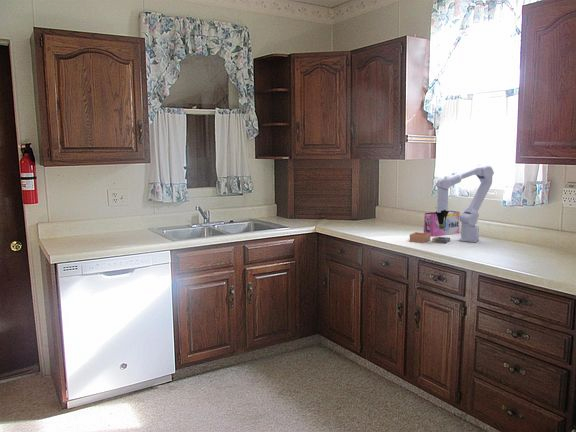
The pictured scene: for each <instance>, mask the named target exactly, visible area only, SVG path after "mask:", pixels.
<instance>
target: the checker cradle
mask: <svg viewBox="0 0 576 432" xmlns="http://www.w3.org/2000/svg"><path fill="white" fill-rule="evenodd" d="M431 242H432V243H439V244H448V243H449V242H451V237H449V236H448V237H446V236H433V237H432V239H431Z"/></svg>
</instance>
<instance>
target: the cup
mask: <svg viewBox="0 0 576 432" xmlns="http://www.w3.org/2000/svg"><path fill="white" fill-rule="evenodd" d="M431 237H432V236H431V234H430V233H424V232H417V231H414V232H412V233H410V234H409V242H412V243H422V244H426V243H429V242H430V241H431Z"/></svg>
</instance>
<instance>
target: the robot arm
mask: <svg viewBox="0 0 576 432" xmlns="http://www.w3.org/2000/svg"><path fill="white" fill-rule="evenodd" d="M494 174H495V171H494V169H493V167H492V166H491V165H481V164H479V165H475V166H473V167H471V168H469V169H467V170H463V172H461V173H457V172H452V173H451V174H450V175H448V176H444V178H439V179H438V180H437V181H436V183H435V185H436V187H437V203H436V207H434V209H436V211H435V212H436V215H437V217H438V222H439V224H443V222H444V217H445V221H446V217H447V214H448V213H449V211H450V210H448V209H449V206H448V204H449V188H450V187H451V186H454V185H456V184H459V183H461V182H462V180H464V179H466V178H469V177H471V176H476V177H477V178H478V179H479V181H480V184H479V186H478V188H477V190H476V193H475V195H474V196H473V198H472V200H471V202H470V204H469V206H468V208H466V209H464V211H463V212H462V213H461V214H460V218H459V222H460V223H461V226H460V227H461V228H460V229H461V231H460V239H458V241H460V242H469V243H470V242H471V243H477V242H478V241H480V240H479V239H480V226H478V225H476V224H477V223H478V219H479V210H480V208H481V206H482V203H483V202H484V200H485V198H486V196H487V194H488V192H489V190H490V188H491V186H492V183H493V176H494Z"/></svg>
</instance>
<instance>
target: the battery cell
mask: <svg viewBox="0 0 576 432" xmlns="http://www.w3.org/2000/svg"><path fill="white" fill-rule="evenodd" d="M439 229H445V217H444V222H443V224H439Z"/></svg>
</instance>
